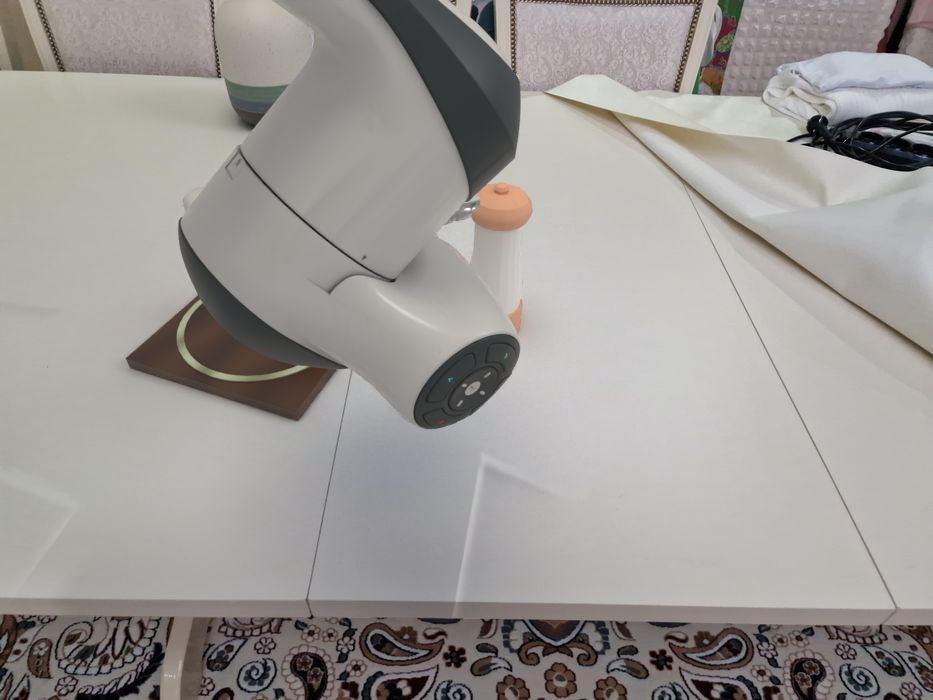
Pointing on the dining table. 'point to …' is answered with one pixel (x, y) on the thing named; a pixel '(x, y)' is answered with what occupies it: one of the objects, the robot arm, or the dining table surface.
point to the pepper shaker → (501, 244)
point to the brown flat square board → (226, 365)
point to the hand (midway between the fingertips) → (300, 160)
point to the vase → (259, 53)
